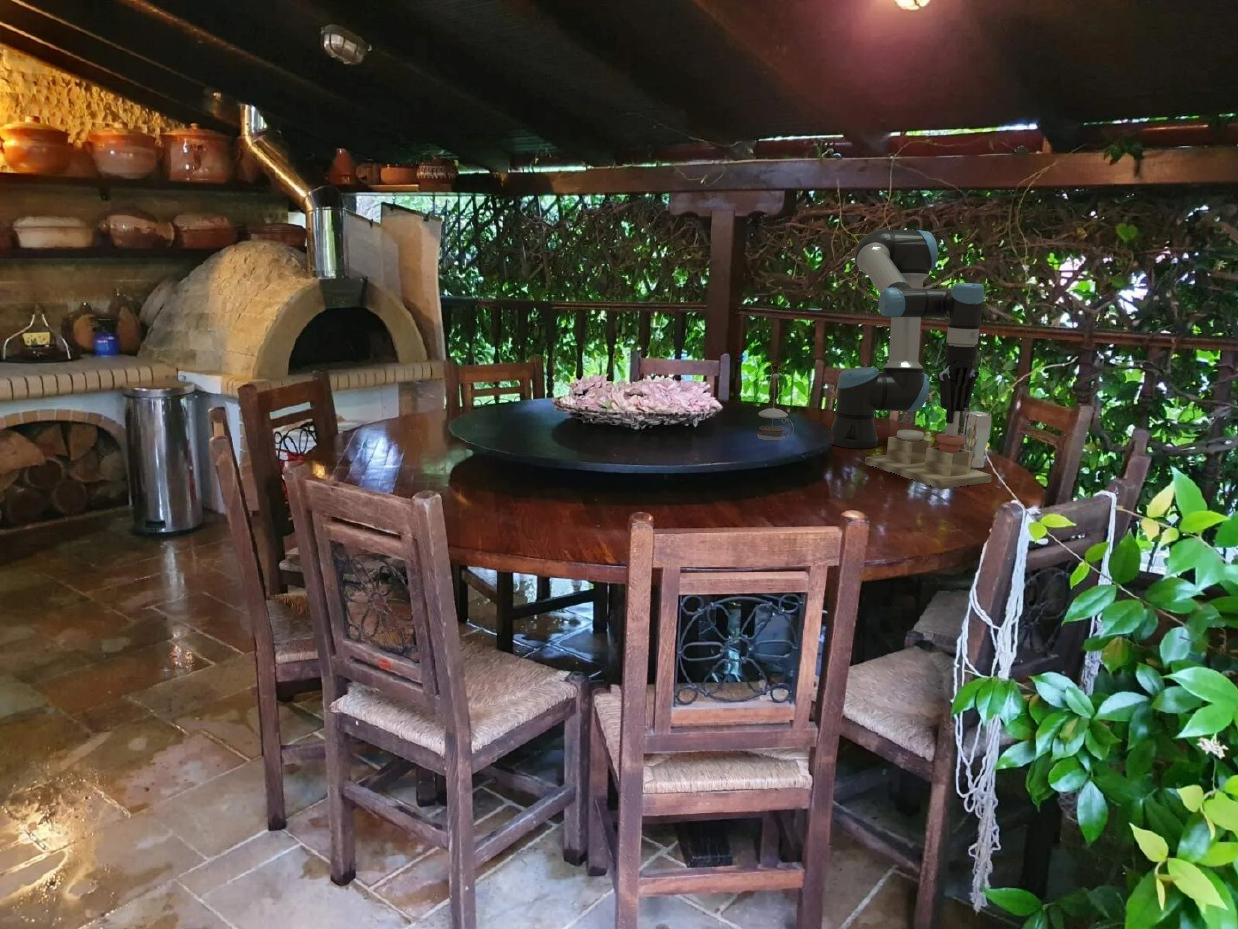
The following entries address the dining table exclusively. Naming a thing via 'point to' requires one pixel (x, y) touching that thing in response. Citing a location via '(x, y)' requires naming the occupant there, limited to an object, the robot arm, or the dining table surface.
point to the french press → (772, 414)
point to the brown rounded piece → (950, 442)
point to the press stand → (928, 464)
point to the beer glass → (977, 436)
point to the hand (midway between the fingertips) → (951, 435)
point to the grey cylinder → (910, 435)
